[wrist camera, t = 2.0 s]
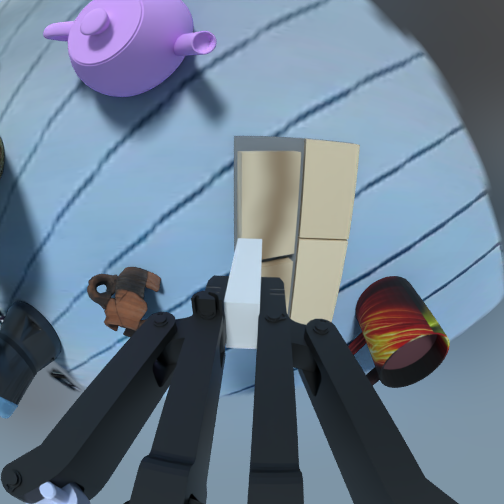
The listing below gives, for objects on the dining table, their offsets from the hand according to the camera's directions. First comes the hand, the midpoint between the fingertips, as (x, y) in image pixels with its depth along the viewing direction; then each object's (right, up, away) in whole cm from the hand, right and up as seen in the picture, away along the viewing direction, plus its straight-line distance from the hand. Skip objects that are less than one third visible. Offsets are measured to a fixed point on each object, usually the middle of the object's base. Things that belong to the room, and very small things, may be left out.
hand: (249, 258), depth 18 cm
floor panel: (+5, +1, +16) cm, 17 cm away
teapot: (-12, +24, +5) cm, 27 cm away
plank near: (+2, +5, +11) cm, 12 cm away
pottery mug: (-17, -5, +20) cm, 27 cm away
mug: (+20, -9, +20) cm, 30 cm away
